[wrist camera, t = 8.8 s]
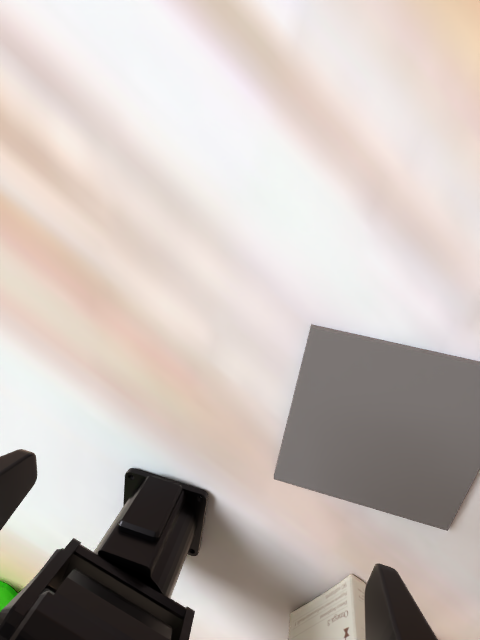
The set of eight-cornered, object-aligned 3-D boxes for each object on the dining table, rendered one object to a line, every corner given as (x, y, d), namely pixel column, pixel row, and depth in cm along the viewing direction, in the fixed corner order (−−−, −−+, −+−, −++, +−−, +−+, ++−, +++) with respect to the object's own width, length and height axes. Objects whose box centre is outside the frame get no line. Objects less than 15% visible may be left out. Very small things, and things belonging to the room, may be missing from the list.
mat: (444, 522, 21) (447, 530, 21) (274, 472, 23) (273, 478, 22) (521, 370, 17) (527, 376, 17) (311, 324, 19) (310, 327, 19)
